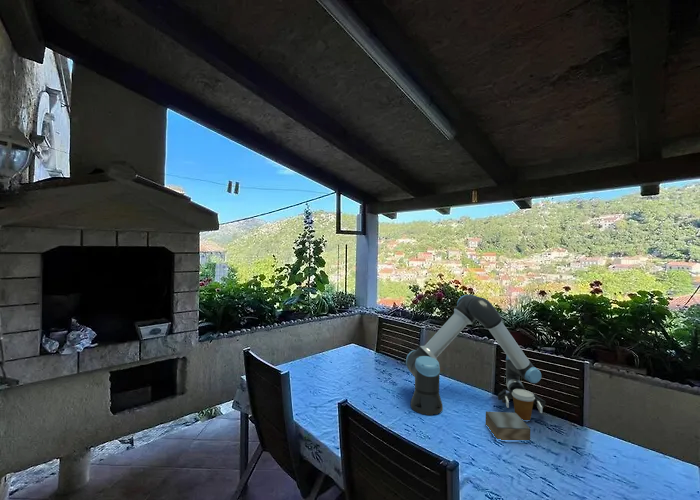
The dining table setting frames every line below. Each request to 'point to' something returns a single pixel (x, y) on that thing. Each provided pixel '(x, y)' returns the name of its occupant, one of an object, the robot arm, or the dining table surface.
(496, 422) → the block
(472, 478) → the dining table surface
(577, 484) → the dining table surface
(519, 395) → the disposable coffee cup
